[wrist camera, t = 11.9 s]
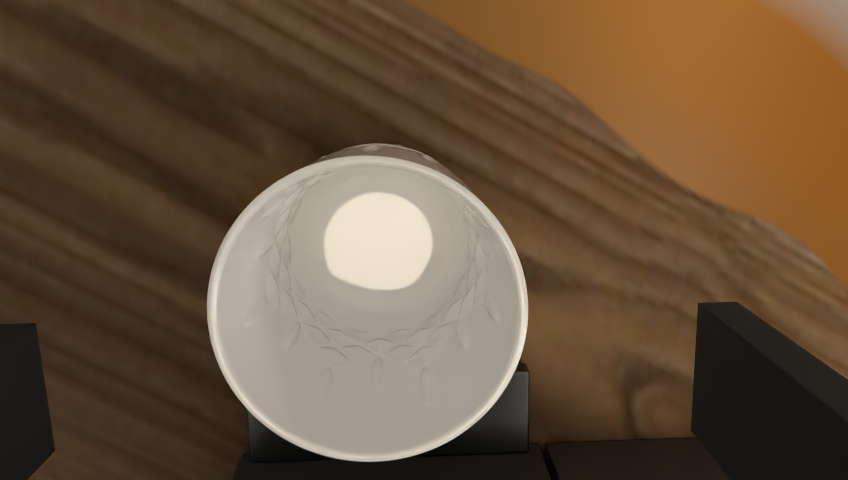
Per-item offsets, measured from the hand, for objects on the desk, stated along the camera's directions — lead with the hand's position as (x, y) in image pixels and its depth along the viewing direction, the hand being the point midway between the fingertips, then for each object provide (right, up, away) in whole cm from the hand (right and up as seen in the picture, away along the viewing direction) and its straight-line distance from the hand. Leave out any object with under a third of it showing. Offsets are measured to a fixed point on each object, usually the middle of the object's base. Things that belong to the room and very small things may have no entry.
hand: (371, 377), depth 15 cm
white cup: (-1, +3, +13) cm, 14 cm away
